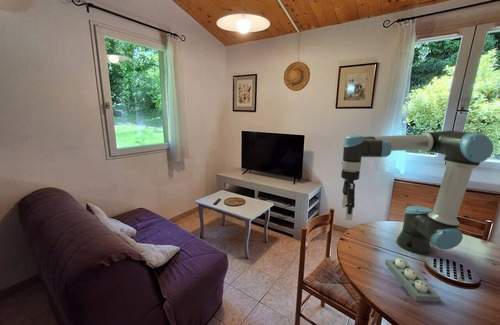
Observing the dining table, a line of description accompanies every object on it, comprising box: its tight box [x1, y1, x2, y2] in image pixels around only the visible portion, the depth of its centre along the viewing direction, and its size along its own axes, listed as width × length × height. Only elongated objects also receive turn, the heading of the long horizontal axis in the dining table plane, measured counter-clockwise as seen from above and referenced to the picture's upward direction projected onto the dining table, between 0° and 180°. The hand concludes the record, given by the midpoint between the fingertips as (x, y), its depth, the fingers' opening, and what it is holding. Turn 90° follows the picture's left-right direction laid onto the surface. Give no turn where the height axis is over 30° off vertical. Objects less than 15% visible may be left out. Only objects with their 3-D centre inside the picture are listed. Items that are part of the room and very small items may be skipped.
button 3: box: [414, 280, 429, 293], centre depth 91 cm, size 4×4×3 cm
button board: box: [384, 258, 441, 303], centre depth 98 cm, size 9×22×2 cm, turn 177°
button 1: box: [394, 257, 407, 269], centre depth 105 cm, size 4×4×3 cm
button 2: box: [404, 268, 418, 280], centre depth 98 cm, size 4×4×3 cm
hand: (346, 213), depth 105 cm, fingers open, 13 cm apart
